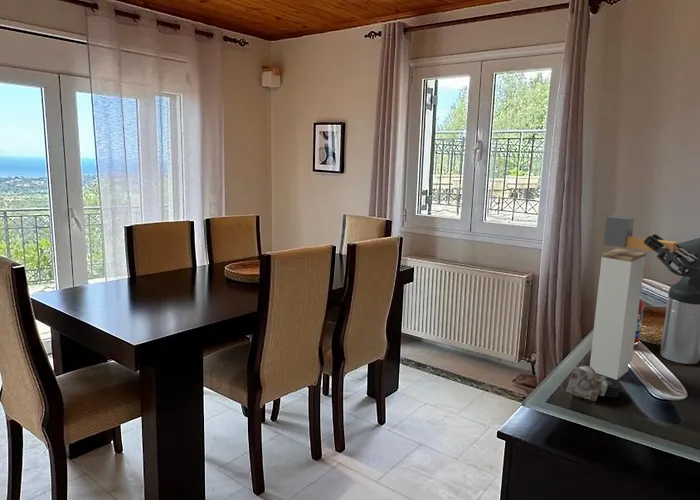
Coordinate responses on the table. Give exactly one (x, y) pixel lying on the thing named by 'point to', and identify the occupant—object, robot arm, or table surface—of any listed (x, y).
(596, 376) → the grey speckled two-tone part
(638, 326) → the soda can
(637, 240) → the grey hammer
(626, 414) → the table surface
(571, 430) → the table surface
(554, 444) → the table surface
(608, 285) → the plinth
